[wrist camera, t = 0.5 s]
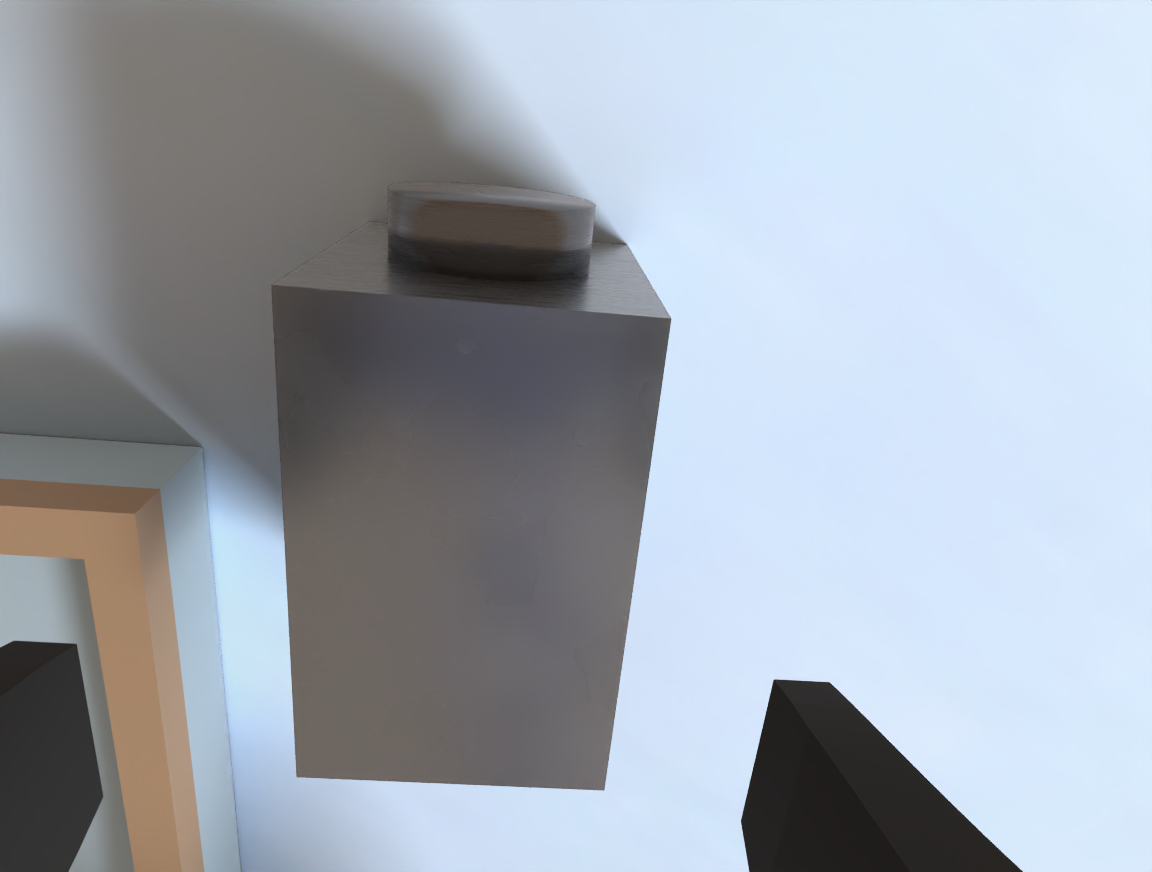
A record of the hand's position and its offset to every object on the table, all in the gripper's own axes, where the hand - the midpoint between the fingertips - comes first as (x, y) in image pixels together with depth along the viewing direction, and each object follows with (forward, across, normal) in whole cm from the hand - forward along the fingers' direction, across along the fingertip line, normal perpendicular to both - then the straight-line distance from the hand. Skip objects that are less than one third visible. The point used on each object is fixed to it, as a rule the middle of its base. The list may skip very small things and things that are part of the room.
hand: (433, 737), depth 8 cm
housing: (+9, 0, 0) cm, 9 cm away
